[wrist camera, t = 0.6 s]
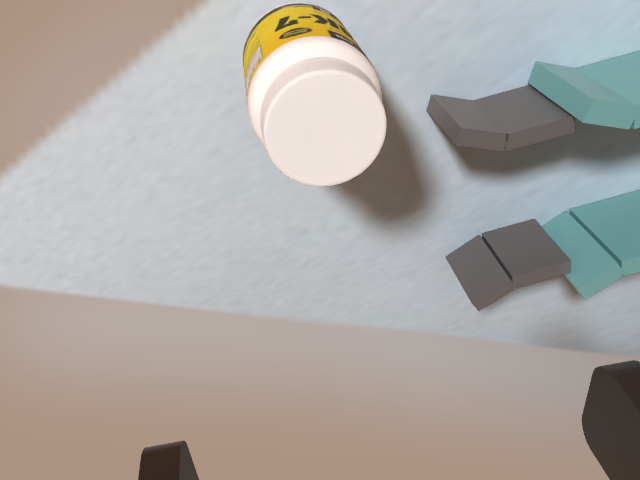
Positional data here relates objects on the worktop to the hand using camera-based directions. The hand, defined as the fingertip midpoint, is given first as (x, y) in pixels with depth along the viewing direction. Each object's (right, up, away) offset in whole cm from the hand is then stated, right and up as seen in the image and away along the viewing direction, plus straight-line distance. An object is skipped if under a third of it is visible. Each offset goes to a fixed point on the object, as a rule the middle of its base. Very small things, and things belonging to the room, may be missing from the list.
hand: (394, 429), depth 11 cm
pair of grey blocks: (+7, +7, +19) cm, 21 cm away
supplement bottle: (-3, +12, +14) cm, 19 cm away
